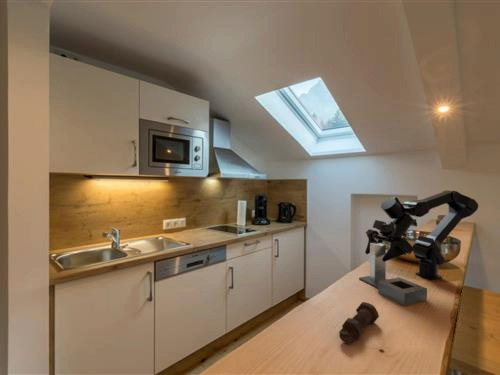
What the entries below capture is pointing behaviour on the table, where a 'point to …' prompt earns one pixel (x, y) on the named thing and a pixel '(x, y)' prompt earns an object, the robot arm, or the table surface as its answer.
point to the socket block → (402, 291)
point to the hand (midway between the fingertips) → (374, 257)
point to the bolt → (358, 322)
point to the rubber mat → (369, 281)
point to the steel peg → (377, 262)
